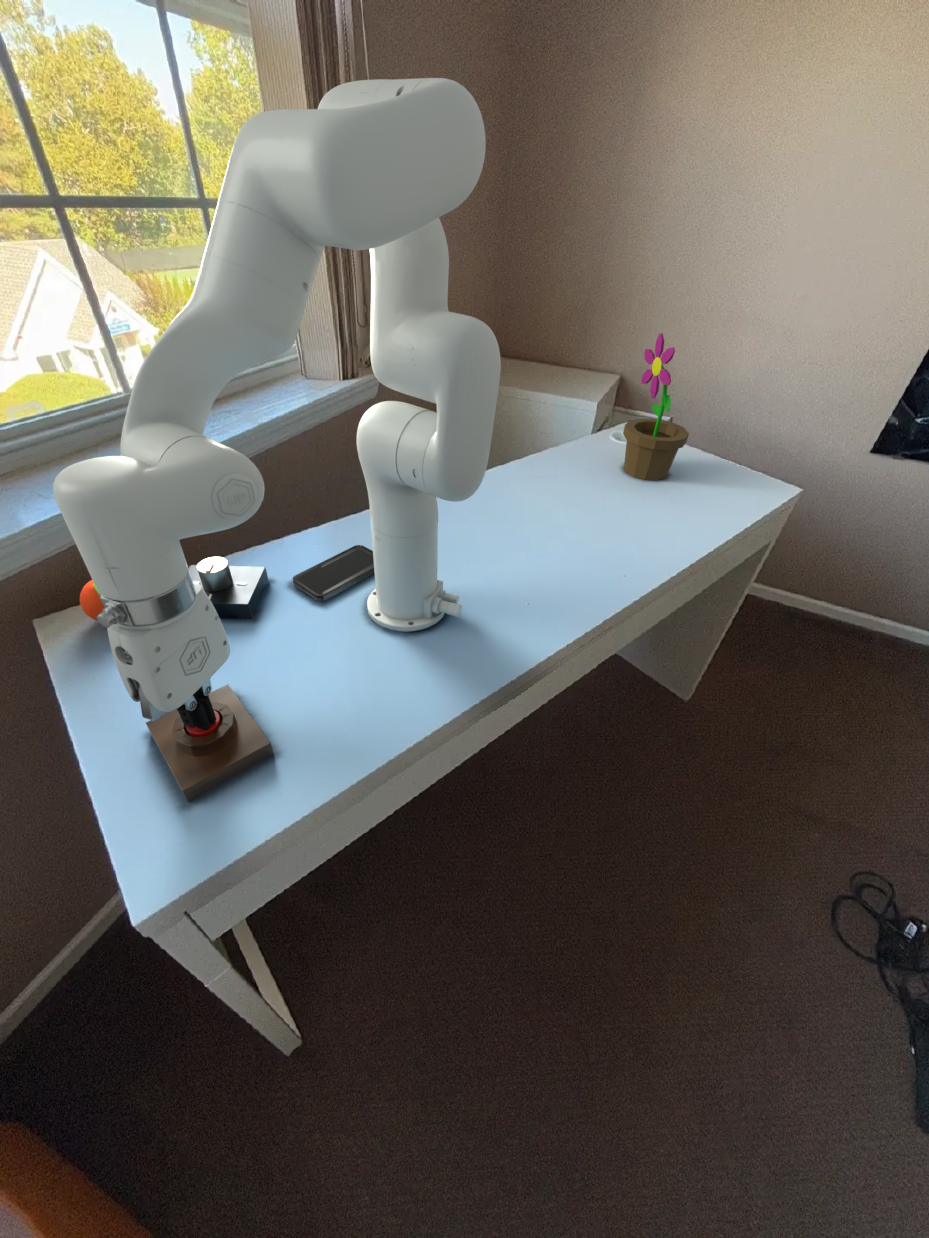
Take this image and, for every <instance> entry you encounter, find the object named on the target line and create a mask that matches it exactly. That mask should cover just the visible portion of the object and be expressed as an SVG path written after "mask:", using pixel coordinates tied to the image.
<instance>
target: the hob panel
mask: <svg viewBox="0 0 929 1238" xmlns="http://www.w3.org/2000/svg"><path fill="white" fill-rule="evenodd" d="M197 565H198V564H191V565H189V566H188V569H189V572H190V575H191V578H192V581H193V582H196V583H198V584H199V585H200V586H201V587H202V588H203V586H202V583H201V579H200V576H199V573H198V570H197ZM229 568H230V572H231V576H232V579H233V583H232V585H231V586H230V587H228V588H227V589H225V590H222V591H217V592H211V591H207V590H205V589H204V588H203V590H204V591H205V593H206V594H207V596H208V597H209V599H210V601H211V602H212V604H213V606H214V608H215V610H216V612H217V614H218V616H219V618H220V620H253V619H254V618H253V617H255V613H256V611H257V609H258V607H259V604H260V603H261V600H262V598H263V596H264V594H265V591H266V589H267V586H268V584H269V582H270V581H269V576H268V572H267V567H266V566H255V565H254V566H251V565H247V566H246V565H229Z"/></svg>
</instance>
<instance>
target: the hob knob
mask: <svg viewBox="0 0 929 1238" xmlns="http://www.w3.org/2000/svg"><path fill="white" fill-rule="evenodd" d="M196 565H197V570H198V573H199V576H200V579H201V583H202V586H203V588H204V589H205V590H207V591H211V592H217V591H222V590H225V589H227V588H228V587H230V586H231V585H232V583H233V579H232V576H231V572H230V568H229V566H230V564H229V562H228V560H227V559H226V558H225V557H222V556H211V557H207V558H204V559H202V560H201V561H199V562H198V563H197V564H196Z"/></svg>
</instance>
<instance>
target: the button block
mask: <svg viewBox="0 0 929 1238" xmlns="http://www.w3.org/2000/svg"><path fill="white" fill-rule="evenodd" d="M208 696H209V699H210V701H211V704H212V707H213V710H214V711H216V712H217V713H218V714H219V716H220V719H221V721H222V724H221V726H220V727H219V728H218V729H217V730H216V731H215V732H213V733H211V734H209V735H207V736H204V737H196V738H195V737H192V736H190V735H189V733H188V731H187V728H186V725H185V724H184V723H183V721H182V719H181V717H180V714H179V712H178V710H174V711H172V712H168V713H167V714H165V715H164V716H162V717H161V718H159V719H158V720H156V721H152V720H148V721H146V722H145V725H146V727H147V729H148V731H149V733H150V735H151V736H152V739H153V741H154V742H155V744H156V746H157V749H159V751H160V753H161V755H162V757H163V759H164V760H165V762H166V765H167V767H168V768H169V770H170V772H171V774H172V775H173V778H174V779H175V781H176V783H177V785H178V787H179V789H180V790H181V792H182V795H183V797H184V798H185V800H186V802H187V803H190V802H192V801H193V800H195V799H197V798H199V797H200V796H202V795H204V794H206V793H208V792H210V791H211V790H213V789H215V788H216V787H218V786H221V785H223V784H224V783H225V782H228V781H229V780H231V779H232V778H234V777H236V776H238V775H240V774H242V773H243V772H245V771H247V770H249V769H251V768H252V767H254V766H256V765H258V764H260V763H261V762H263V761H265V760H266V759H268V758H271V757H272V756H274V755H275V752H274V748H273V745H272V743H271V741H270V739H269V738H268V737H267V736H266V734H265V732H264V731H263V730H262V728H261V727H260V726H259V724H258V722H256V720H255V719H254V718H253V716H252V715H251V713H250V712H249V711H248V709H247V708H246V707H245V705H244V704H243V703H242V700H240V698H239V697H238V695H237V694H236V693H235V691H234V690H233V689H232V687H231V686H230V684H226V685H224V686H221V687H220V688H217V689H214V690H213V691H211V692H210V694H209V695H208Z"/></svg>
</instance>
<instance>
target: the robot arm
mask: <svg viewBox="0 0 929 1238" xmlns="http://www.w3.org/2000/svg"><path fill="white" fill-rule="evenodd" d="M486 142H487V140H486V130H485V124H484V119H483V115H482V113H481V109H480V107H479V105H478V103H477V102H476V100H475V98H474V96H473V94H471V92H470V91H469V90H468V89H466V87H465V86H464V85H462V84H460V83H459V82H457V81H456V80H453V79H450V78H445V77H421V78H420V77H419V78H398V79H397V78H395V79H389V78H388V79H387V78H382V79H381V78H379V79H378V78H376V79H361V80H354V81H350V82H349V81H348V82H344V83H342V84H339V85H336V86H334V87H333V88H331V89H330V90H328V91H327V92H326V93H325V94H324V95H323V97H322V98H321V99H320V102H319V104H318V106H317V108H291V109H290V108H288V109H286V108H285V109H283V108H282V109H272V110H265V111H262V112H258V113H256V114H254V115H253V116H251V117H250V118H248V119H247V120H246V121H245V122H244V123H243V125H242V126H241V127H240V129H239V131H238V133H237V134H236V137H235V139H234V142H233V145H232V149H231V153H230V155H229V159H228V163H227V167H226V171H225V176H224V177H223V181H222V186H221V189H220V192H219V196H218V199H217V203H216V209H215V212H214V216H213V219H212V222H211V226H210V230H209V232H208V233H209V234H208V238H207V241H206V245H205V248H204V253H203V256H202V260H201V264H200V267H199V271H198V275H197V278H196V282H195V284H194V288H193V291H192V293H191V296H190V299H189V300H188V301H187V303H186V305H185V306H184V307H183V308H182V309H181V310H180V311H179V312H178V314H177V315H176V316H175V317H174V318H173V320H172V321H171V322H170V323H169V325H168V326H167V328H166V329H165V330H164V331H163V333H162V334H161V336H160V337H159V338H158V340H156V342H155V344H154V345H153V346H152V348H151V349H150V351H149V352H148V354H147V355H146V356H145V358H144V360H143V362H142V364H141V366H140V367H139V370H138V372H137V374H136V376H135V379H134V382H133V386H132V389H131V392H130V396H129V400H128V403H127V408H126V411H125V412H126V413H125V416H124V421H123V424H122V428H121V429H122V430H121V436H120V445H119V446H120V447H119V448H120V455H106V456H98V457H92V458H88V459H85V460H82V461H78V462H75V463H73V464H70V465H69V466H67V467H65V468H63V469H62V470H60V472H59V473H58V474H57V475H56V476H55V478H54V481H53V483H52V494H53V498H54V500H55V502H56V506H57V507H58V509H59V511H60V514H61V515H62V518H63V521H64V522H65V525H66V526H67V529H68V530H69V533H70V536H71V537H72V539H73V541H74V543H75V546H76V547H77V550H78V551H79V554H80V556H81V558H82V560H83V563H84V565H85V566H86V570H87V571H88V573H89V575H90V578H91V580H93V582H94V584H95V586H96V588H97V590H98V592H99V595H100V597H99V598H100V600H101V602H102V604H103V606H104V609H103V610H102V613H101V614H99V615H98V616H97V617H96V619H97V621H96V622H98V624H100V626H102V628H106V629H107V635H108V641H109V645H110V649H111V653H112V657H113V659H114V663H115V666H116V668H117V671H118V674H119V676H120V678H121V681H122V683H123V685H124V688H125V691H127V693H128V695H129V697H130V698H131V700H132V701H133V702H135V703H139V704H140V711H141V715H142V718H144V719H146V720H148V721H150V720H152V721H156V720H158V719H159V718H161V717H162V716H164V715H165V714H167V713H168V712H172V711H174V710H178V712H179V714H180V717H181V719H182V721H183V723H184V724H185V725H186V726H188V727H191V728H195V727H197V728H200V729H203V730H208V729H209V728H210V724H213V723H214V722H215V721H216V720H217V719H216V716H215V714H214V711H213V707H212V704H211V701H210V699H209V696H208V695H209V694H210V692H212V690H213V689H212V682H211V678H212V677H213V676H214V675H215V673H217V672H218V670H220V669H221V668H222V666H223V665H224V664H225V663H226V662H227V660H228V659H229V657H230V655H231V647H230V642H229V639H228V636H227V633H226V631H225V628H224V625H223V623H222V620H221V619H220V618H219V616H218V614H217V612H216V610H215V608H214V606H213V604H212V602H211V601H210V599H209V597H208V596H207V594H206V593H205V591H204V590H203V588H202V587H201V586H200V585H199V584H198V583H196V582H193V581H192V578H191V575H190V572H189V569H188V568H189V566H188V563H187V559H186V557H185V554H184V550H183V547H182V545H181V542H180V541H181V540H183V539H187V538H193V537H197V536H202V535H208V534H213V533H218V532H222V531H226V530H230V529H232V528H235V527H237V526H240V525H241V524H244V523H245V522H247V521H249V520H250V519H251V518H252V517H254V515H255V514H256V513H257V512H258V510H259V509H260V507H261V506H262V503H263V502H264V497H265V488H266V487H265V482H264V478H263V476H262V473H261V471H260V470H259V468H258V467H257V466H256V465H255V463H254V462H253V461H252V460H251V459H249V458H248V456H246V455H244V454H243V453H241V452H240V451H238V450H236V449H234V448H232V447H229V446H227V445H226V444H223V443H221V442H219V441H216V440H215V439H212V438H210V437H208V436H206V435H204V431H205V428H206V425H207V421H208V417H209V415H210V412H211V410H212V408H213V405H214V403H215V401H216V399H217V398H218V396H219V394H220V393H221V391H222V390H224V388H225V386H226V385H227V384H228V383H229V382H230V381H232V380H233V379H234V378H235V377H236V376H238V375H239V374H241V373H243V372H245V371H246V370H249V369H251V368H254V367H255V366H258V365H261V364H262V363H263V364H264V363H266V362H267V361H270V360H272V359H274V358H276V357H278V356H281V355H283V354H285V353H286V352H288V351H289V350H290V349H291V348H292V347H293V346H294V344H295V342H296V340H297V337H298V334H299V330H300V327H301V322H302V320H303V316H304V313H305V309H306V306H307V303H308V299H309V296H310V293H311V289H312V286H313V283H314V280H315V277H316V273H317V270H318V267H319V264H320V262H321V258H322V256H323V252H324V249H325V247H332V248H339V249H340V248H341V249H345V250H346V249H347V250H352V251H365V250H369V256H370V257H369V258H370V323H369V325H370V327H369V329H370V330H369V348H370V349H369V351H370V352H369V353H370V354H369V355H370V363H371V364H370V365H371V369H372V372H373V374H374V377H375V378H376V379H377V381H378V382H379V383H380V384H382V385H383V386H384V387H386V388H387V389H390V390H393V391H395V392H398V393H401V394H404V395H407V396H410V397H413V398H417V399H420V400H422V401H425V402H429V403H432V404H436V411H433V410H430V409H428V408H424V407H421V406H417V405H414V404H411V403H408V402H405V401H400V400H399V401H398V400H385V401H380V402H377V403H375V404H373V405H372V406H370V407H369V408H368V409H367V410H365V412H364V413H363V414H362V417H361V418H360V421H359V422H358V426H357V429H356V430H357V431H356V442H355V443H356V450H357V455H358V460H359V463H360V467H361V470H362V474H363V477H364V482H365V485H366V489H367V496H368V505H369V506H368V507H369V515H370V517H369V518H370V530H371V531H370V532H371V545H372V551H373V559H374V572H375V573H374V582H375V583H374V585H375V588H374V589H373V590H372V591H371V592H370V593H369V595H368V597H367V601H366V609H367V613H368V615H369V618H370V619H371V620H372V621H373V622H374V623H376V624H377V625H378V626H381V627H383V628H385V629H388V630H391V631H396V632H416V631H422V630H424V629H427V628H431V627H432V626H434V625H436V624H437V623H438V622H440V621H441V620H442V619H443V618H444V616H445V614H447V615H448V616H453V617H457V618H459V617H460V616H461V615H462V609H463V605H462V604H460V603H459V602H460V595H458V594H454V593H449V592H446V590H444V581H443V580H439V579H438V556H439V555H438V553H439V552H438V549H439V548H438V546H439V545H438V543H439V505H438V499H440V500H444V501H447V502H454V503H455V502H456V503H457V502H463V501H466V500H468V499H470V498H471V497H472V496H473V495H475V493H476V492H477V491H478V489H479V488H480V486H481V485H482V482H483V480H484V477H485V475H486V471H487V469H488V468H487V467H488V463H489V458H490V452H491V447H492V446H491V445H492V439H493V432H494V424H495V418H496V411H497V403H498V397H499V390H500V382H501V372H502V361H501V360H502V359H501V352H500V351H501V350H500V346H499V343H498V340H497V337H496V335H495V333H494V331H493V330H492V329H491V327H490V326H489V325H488V324H486V322H484V321H482V320H481V319H479V318H477V317H474V316H471V315H467V314H463V313H458V312H454V311H449V305H448V302H449V301H448V299H449V298H448V297H449V276H450V275H449V272H450V254H449V246H448V241H447V236H446V233H445V230H444V227H443V224H442V221H441V217H443V216H444V215H446V214H448V213H451V212H452V211H454V210H455V209H457V208H458V207H460V206H461V205H462V204H463V203H464V202H465V201H466V200H467V199H468V198H469V196H470V195H471V194H472V192H473V191H474V189H475V187H476V185H477V184H478V182H479V180H480V176H481V174H482V171H483V168H484V167H483V166H484V164H485V157H486V144H487V143H486Z"/></svg>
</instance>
